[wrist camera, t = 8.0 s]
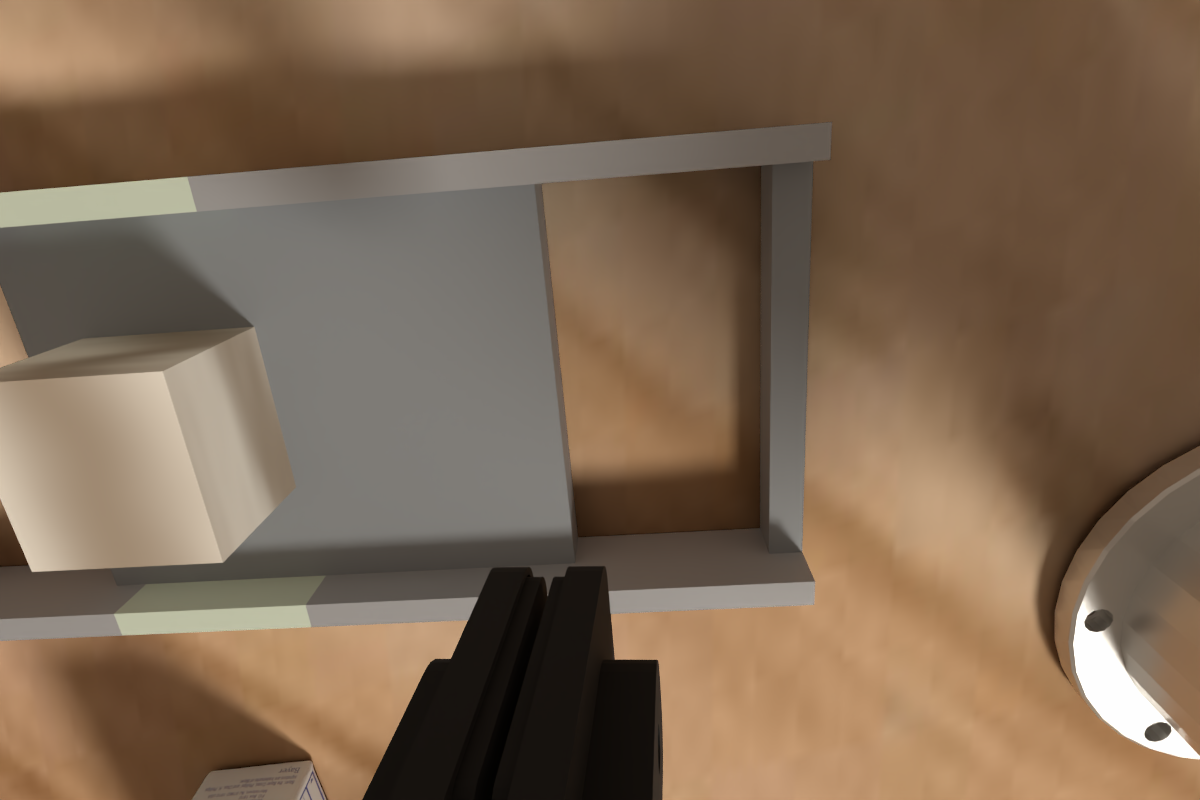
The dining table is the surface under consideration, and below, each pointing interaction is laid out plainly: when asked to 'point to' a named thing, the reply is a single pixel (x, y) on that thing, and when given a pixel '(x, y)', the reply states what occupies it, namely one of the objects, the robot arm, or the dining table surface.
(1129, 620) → the robot arm
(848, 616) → the dining table surface
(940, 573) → the dining table surface
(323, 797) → the medicine box
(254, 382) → the cream block
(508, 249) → the track
